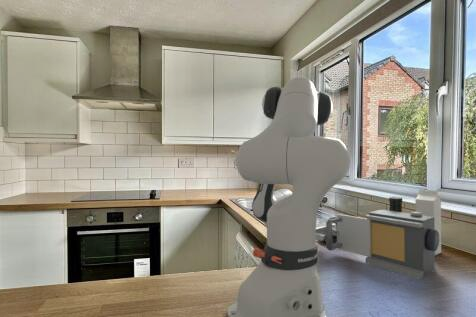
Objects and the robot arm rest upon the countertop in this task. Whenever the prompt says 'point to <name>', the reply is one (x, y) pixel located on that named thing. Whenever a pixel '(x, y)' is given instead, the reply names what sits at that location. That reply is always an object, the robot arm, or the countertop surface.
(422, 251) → the camera case
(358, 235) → the side door
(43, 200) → the countertop surface
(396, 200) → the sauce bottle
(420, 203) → the milk
